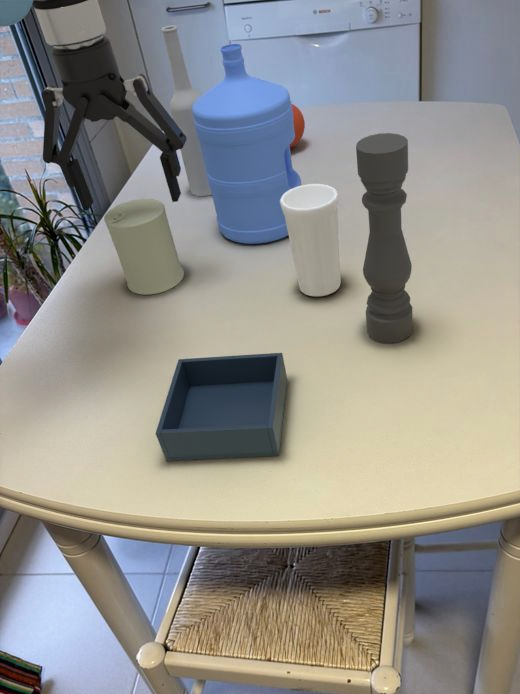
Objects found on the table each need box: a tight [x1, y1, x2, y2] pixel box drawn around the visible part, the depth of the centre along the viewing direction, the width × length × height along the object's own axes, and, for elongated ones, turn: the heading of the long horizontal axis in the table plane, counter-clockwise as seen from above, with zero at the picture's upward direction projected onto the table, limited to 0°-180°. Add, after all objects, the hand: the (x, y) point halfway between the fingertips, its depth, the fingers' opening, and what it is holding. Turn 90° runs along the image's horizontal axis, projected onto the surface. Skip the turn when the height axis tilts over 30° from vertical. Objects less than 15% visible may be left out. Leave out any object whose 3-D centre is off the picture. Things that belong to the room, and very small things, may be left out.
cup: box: [280, 183, 342, 297], centre depth 93 cm, size 8×8×14 cm
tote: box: [154, 352, 288, 462], centre depth 77 cm, size 13×13×4 cm
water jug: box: [192, 43, 303, 245], centre depth 105 cm, size 16×16×28 cm
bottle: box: [161, 24, 212, 197], centre depth 118 cm, size 7×7×28 cm
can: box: [103, 198, 185, 296], centre depth 101 cm, size 9×9×12 cm
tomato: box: [289, 100, 306, 149], centre depth 135 cm, size 10×10×10 cm
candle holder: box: [355, 132, 414, 344], centre depth 79 cm, size 6×6×25 cm
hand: (132, 202), depth 96 cm, fingers open, 13 cm apart
